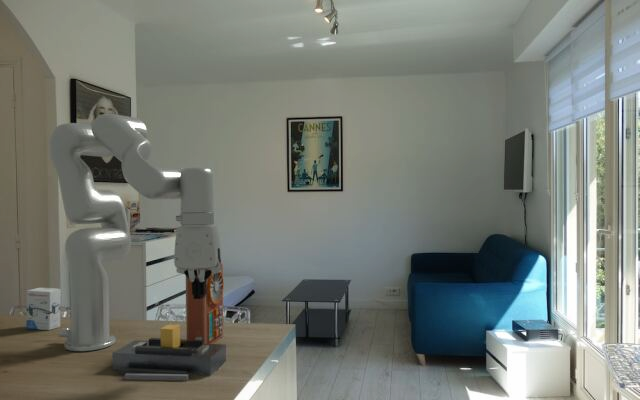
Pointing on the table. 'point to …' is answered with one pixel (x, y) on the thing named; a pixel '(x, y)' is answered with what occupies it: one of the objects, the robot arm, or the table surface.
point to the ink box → (43, 308)
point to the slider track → (171, 356)
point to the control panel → (205, 310)
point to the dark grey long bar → (148, 371)
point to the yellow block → (170, 336)
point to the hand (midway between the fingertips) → (199, 297)
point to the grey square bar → (156, 376)
